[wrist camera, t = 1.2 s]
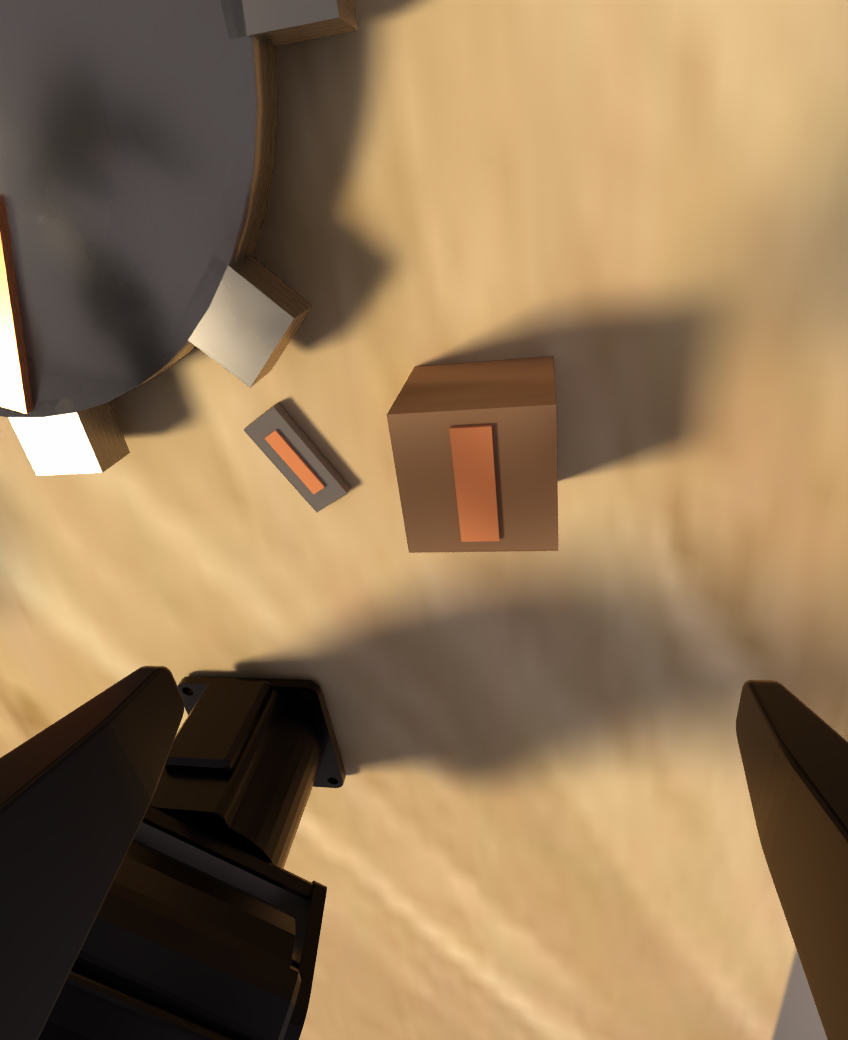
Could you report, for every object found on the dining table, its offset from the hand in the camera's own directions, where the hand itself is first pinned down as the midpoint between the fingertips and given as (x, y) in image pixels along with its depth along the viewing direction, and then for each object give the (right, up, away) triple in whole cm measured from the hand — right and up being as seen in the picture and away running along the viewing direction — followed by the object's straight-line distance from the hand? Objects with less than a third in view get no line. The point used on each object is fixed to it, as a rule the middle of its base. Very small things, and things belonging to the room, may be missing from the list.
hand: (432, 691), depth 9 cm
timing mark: (-4, +5, +11) cm, 12 cm away
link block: (+2, +6, +9) cm, 11 cm away
